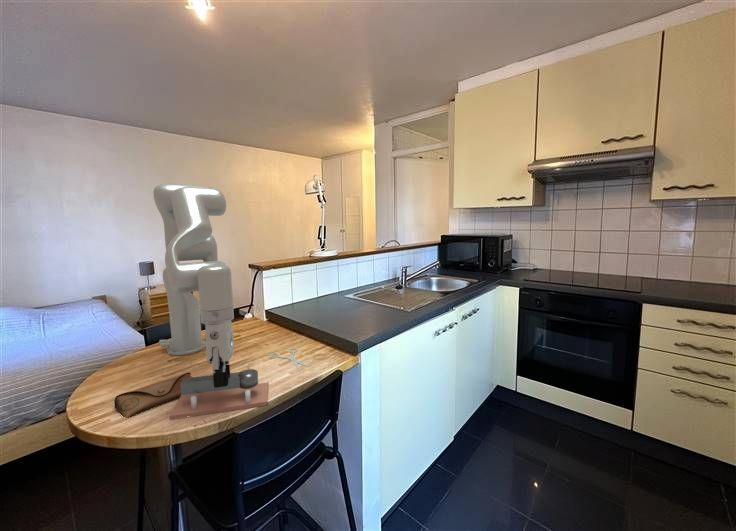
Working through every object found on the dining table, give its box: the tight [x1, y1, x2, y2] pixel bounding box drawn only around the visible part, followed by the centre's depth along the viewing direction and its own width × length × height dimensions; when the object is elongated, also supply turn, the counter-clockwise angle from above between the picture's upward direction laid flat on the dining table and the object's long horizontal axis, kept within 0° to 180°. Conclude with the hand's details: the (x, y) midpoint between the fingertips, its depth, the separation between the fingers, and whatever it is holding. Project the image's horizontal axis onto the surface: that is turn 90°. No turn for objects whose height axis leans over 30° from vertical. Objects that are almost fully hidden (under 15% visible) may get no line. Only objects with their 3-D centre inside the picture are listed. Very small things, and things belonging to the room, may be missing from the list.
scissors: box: [264, 347, 311, 372], centre depth 105 cm, size 11×1×20 cm
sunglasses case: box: [113, 372, 193, 419], centre depth 82 cm, size 18×7×7 cm, turn 139°
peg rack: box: [168, 382, 269, 420], centre depth 81 cm, size 22×10×4 cm, turn 105°
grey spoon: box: [180, 368, 259, 395], centre depth 80 cm, size 18×5×3 cm, turn 105°
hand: (222, 382), depth 80 cm, fingers closed on grey spoon, 2 cm apart
